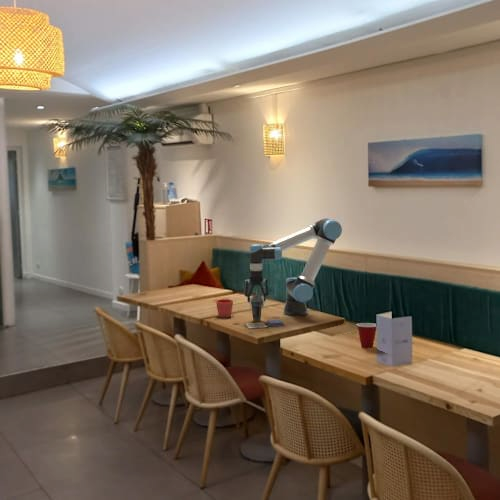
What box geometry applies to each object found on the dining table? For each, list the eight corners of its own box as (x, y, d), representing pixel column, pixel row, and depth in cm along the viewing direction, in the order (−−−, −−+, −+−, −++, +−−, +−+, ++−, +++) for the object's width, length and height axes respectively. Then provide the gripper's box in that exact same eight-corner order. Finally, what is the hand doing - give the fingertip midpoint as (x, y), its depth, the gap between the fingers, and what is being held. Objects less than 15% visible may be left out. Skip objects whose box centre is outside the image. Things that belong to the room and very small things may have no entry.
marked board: (264, 323, 377) (264, 322, 377) (268, 327, 365) (268, 326, 365) (244, 324, 375) (244, 323, 375) (248, 329, 363) (248, 328, 363)
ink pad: (280, 322, 379) (280, 319, 378) (284, 325, 370) (284, 322, 370) (265, 323, 377) (265, 320, 377) (269, 326, 368) (269, 323, 368)
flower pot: (236, 315, 400) (236, 300, 399) (227, 318, 391) (226, 303, 390) (222, 313, 406) (222, 298, 405) (213, 316, 397) (212, 301, 396)
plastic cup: (376, 344, 327) (376, 321, 326) (378, 349, 317) (379, 326, 315) (355, 343, 328) (355, 321, 327) (356, 349, 318) (357, 326, 316)
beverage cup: (262, 318, 389) (262, 286, 387) (263, 321, 382) (262, 288, 380) (250, 319, 389) (250, 287, 387) (251, 321, 382) (250, 289, 379)
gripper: (270, 268, 387) (271, 305, 390) (238, 269, 383) (239, 306, 386) (273, 270, 380) (274, 307, 383) (240, 271, 376) (241, 309, 379)
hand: (256, 307), depth 384 cm, fingers closed on beverage cup, 7 cm apart
